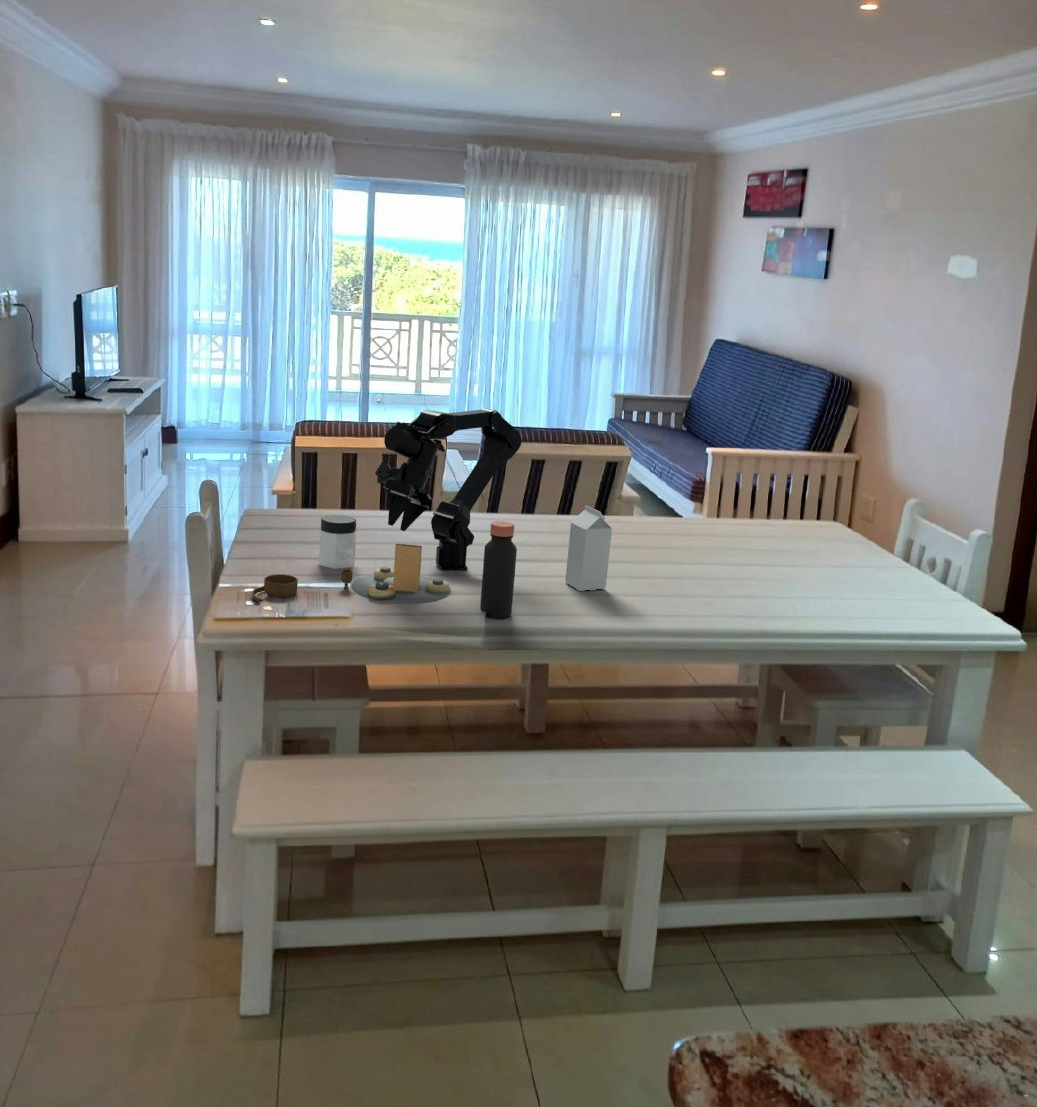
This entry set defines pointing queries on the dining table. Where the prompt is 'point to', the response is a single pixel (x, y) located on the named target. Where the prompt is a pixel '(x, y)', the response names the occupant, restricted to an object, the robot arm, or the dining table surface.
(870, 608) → the dining table surface
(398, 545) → the wooden slab
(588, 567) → the milk carton
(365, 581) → the plate
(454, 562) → the robot arm
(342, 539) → the jar
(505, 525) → the bottle
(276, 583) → the place setting
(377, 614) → the dining table surface
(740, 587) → the dining table surface
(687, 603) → the dining table surface
